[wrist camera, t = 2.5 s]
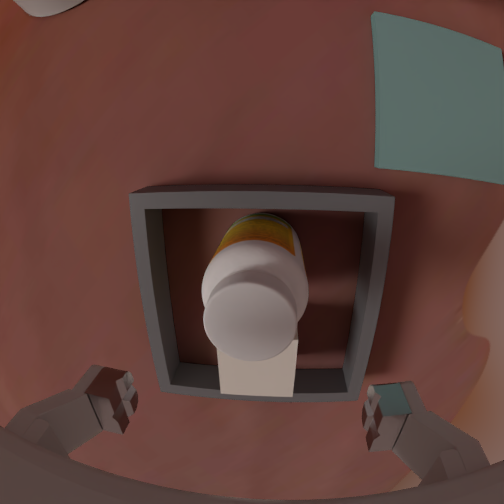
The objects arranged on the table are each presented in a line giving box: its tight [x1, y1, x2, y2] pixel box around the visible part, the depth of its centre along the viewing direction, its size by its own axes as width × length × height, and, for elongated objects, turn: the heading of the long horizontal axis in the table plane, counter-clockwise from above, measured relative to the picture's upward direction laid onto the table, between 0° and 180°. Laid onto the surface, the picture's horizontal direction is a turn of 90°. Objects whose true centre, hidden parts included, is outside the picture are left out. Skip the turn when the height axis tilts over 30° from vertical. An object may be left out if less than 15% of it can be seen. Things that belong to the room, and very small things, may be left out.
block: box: [217, 331, 298, 397], centre depth 22 cm, size 5×5×5 cm
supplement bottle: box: [202, 213, 309, 361], centre depth 18 cm, size 5×5×10 cm
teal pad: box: [371, 11, 504, 185], centre depth 17 cm, size 11×11×1 cm
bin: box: [129, 184, 395, 402], centre depth 22 cm, size 16×16×3 cm
